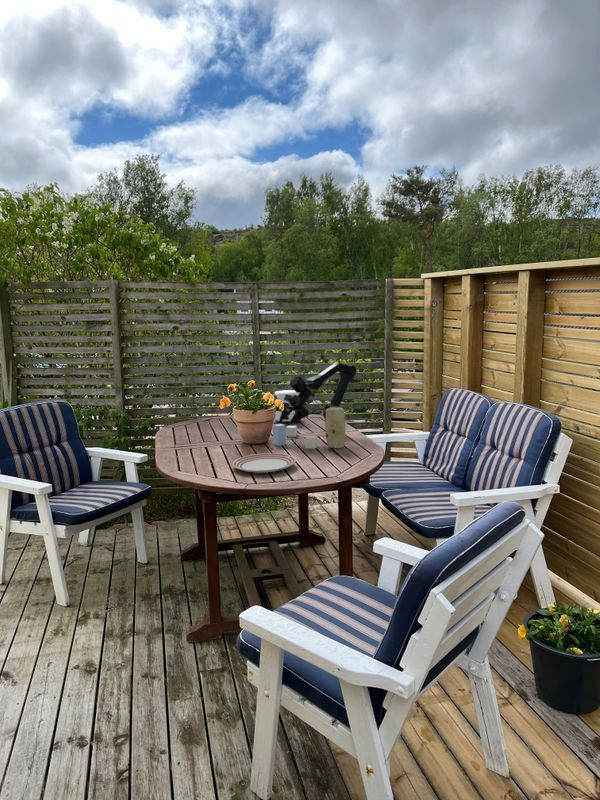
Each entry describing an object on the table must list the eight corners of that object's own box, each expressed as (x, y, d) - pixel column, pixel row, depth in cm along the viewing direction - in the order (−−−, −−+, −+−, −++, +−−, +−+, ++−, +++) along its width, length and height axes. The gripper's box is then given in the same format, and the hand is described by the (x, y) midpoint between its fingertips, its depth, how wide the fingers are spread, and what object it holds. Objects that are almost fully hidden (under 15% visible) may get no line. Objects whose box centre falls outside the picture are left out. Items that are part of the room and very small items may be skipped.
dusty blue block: (280, 442, 299) (280, 423, 298) (285, 444, 296) (285, 424, 294) (273, 444, 297) (272, 424, 295) (278, 445, 293) (277, 426, 291)
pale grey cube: (297, 434, 317) (297, 425, 316) (295, 436, 312) (295, 427, 311) (288, 434, 318) (287, 425, 317) (286, 436, 313) (285, 427, 312)
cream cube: (317, 446, 291) (317, 436, 290) (315, 448, 286) (315, 438, 285) (307, 445, 292) (307, 436, 291) (305, 448, 287) (305, 438, 286)
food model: (344, 445, 290) (343, 405, 287) (346, 448, 284) (346, 408, 281) (324, 446, 289) (324, 406, 286) (327, 449, 283) (326, 408, 279)
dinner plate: (239, 480, 238) (238, 472, 238) (228, 463, 264) (227, 455, 264) (303, 473, 246) (303, 465, 245) (286, 457, 272) (286, 450, 271)
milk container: (304, 423, 345) (303, 393, 342) (275, 425, 343) (274, 394, 340) (300, 418, 362) (299, 389, 359) (272, 419, 360) (271, 390, 357)
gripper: (282, 386, 304) (265, 410, 300) (304, 390, 289) (286, 415, 285) (295, 400, 310) (278, 423, 306) (316, 404, 295) (299, 428, 291)
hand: (285, 422), depth 296 cm, fingers open, 9 cm apart
